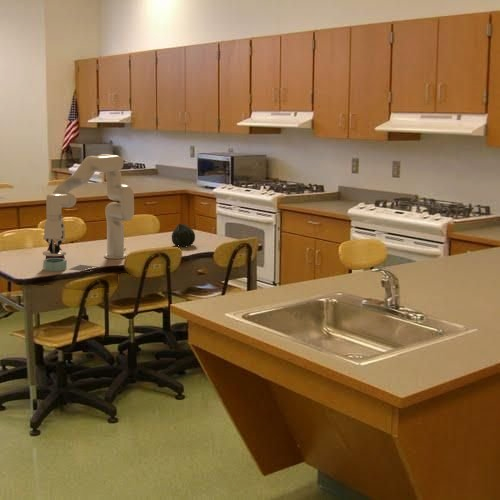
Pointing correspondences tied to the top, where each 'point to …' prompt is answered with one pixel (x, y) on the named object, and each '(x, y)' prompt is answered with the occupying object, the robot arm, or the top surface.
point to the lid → (48, 253)
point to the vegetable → (55, 256)
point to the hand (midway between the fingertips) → (54, 251)
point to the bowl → (54, 264)
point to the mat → (81, 267)
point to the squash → (183, 235)
